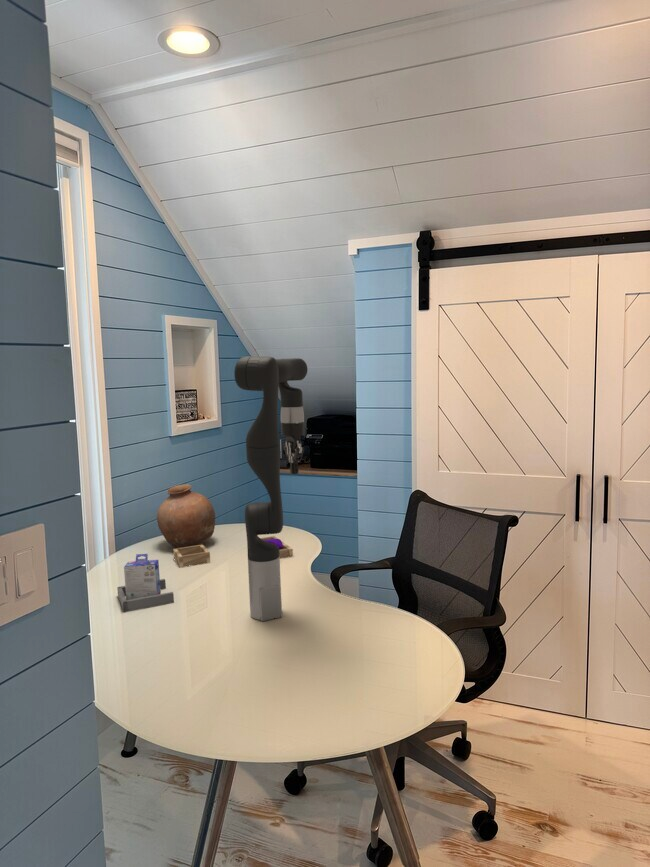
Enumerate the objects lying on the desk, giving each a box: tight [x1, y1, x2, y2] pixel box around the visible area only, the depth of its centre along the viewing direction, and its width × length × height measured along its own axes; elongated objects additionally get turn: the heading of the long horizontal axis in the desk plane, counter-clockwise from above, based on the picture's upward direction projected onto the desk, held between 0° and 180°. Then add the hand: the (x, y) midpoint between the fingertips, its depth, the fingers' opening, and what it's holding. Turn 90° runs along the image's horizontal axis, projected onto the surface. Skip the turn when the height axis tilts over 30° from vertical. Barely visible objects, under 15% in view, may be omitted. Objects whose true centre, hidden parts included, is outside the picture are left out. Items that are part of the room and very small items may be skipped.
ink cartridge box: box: [123, 553, 162, 600], centre depth 189 cm, size 10×6×14 cm, turn 95°
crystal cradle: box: [259, 535, 294, 559], centre depth 234 cm, size 20×10×3 cm, turn 26°
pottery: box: [156, 484, 216, 548], centre depth 244 cm, size 23×23×25 cm
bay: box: [117, 578, 175, 613], centre depth 190 cm, size 14×15×3 cm
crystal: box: [264, 538, 283, 550], centre depth 235 cm, size 5×5×15 cm
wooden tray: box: [172, 544, 211, 568], centre depth 226 cm, size 11×11×4 cm
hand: (294, 473), depth 195 cm, fingers closed
